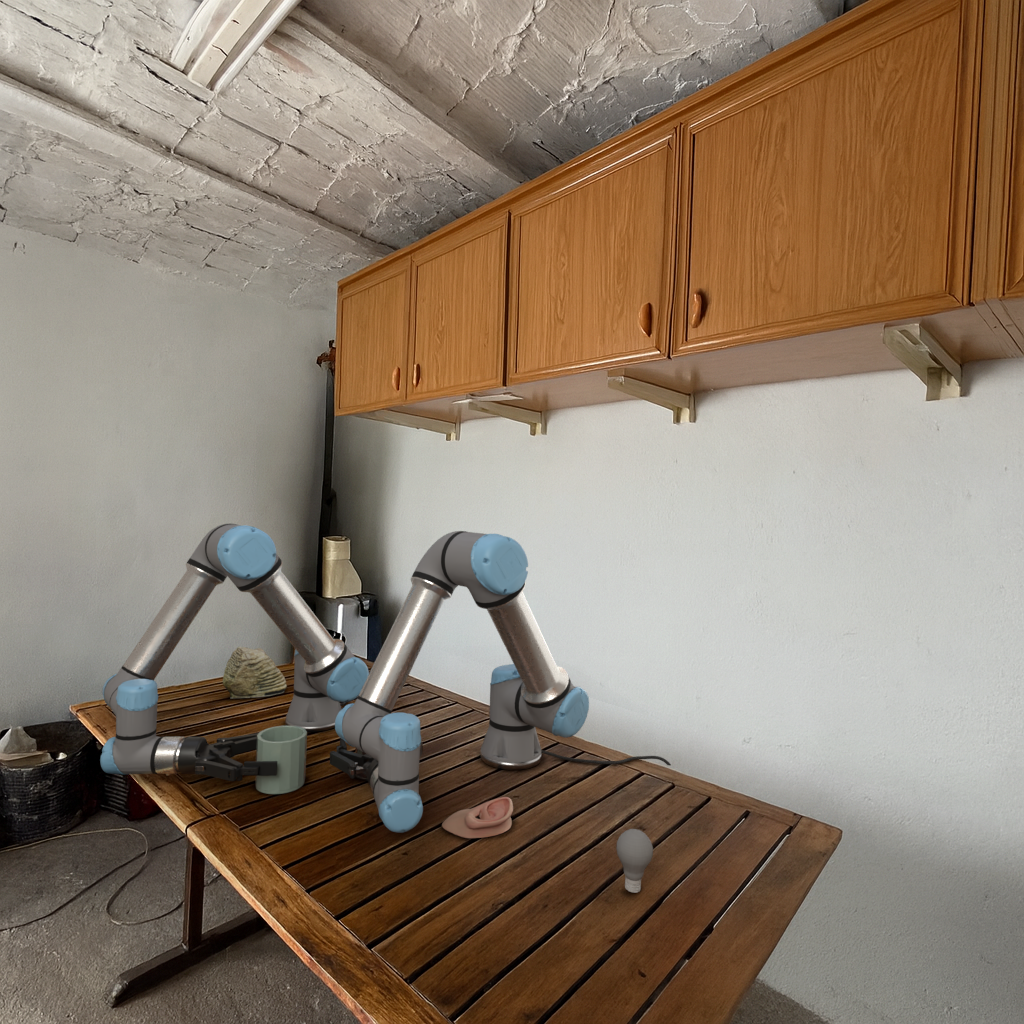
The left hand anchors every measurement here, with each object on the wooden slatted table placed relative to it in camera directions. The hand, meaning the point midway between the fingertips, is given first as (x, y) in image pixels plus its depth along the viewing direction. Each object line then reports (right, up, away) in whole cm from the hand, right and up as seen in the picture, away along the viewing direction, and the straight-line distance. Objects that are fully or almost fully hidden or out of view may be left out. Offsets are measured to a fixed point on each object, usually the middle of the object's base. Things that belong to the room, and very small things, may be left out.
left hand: (285, 755), depth 139 cm
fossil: (-31, -4, +59) cm, 67 cm away
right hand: (+17, +1, +8) cm, 19 cm away
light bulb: (+70, -10, -33) cm, 78 cm away
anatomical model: (+43, -9, -14) cm, 46 cm away
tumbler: (+18, -7, +7) cm, 20 cm away
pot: (-1, -6, 0) cm, 6 cm away
